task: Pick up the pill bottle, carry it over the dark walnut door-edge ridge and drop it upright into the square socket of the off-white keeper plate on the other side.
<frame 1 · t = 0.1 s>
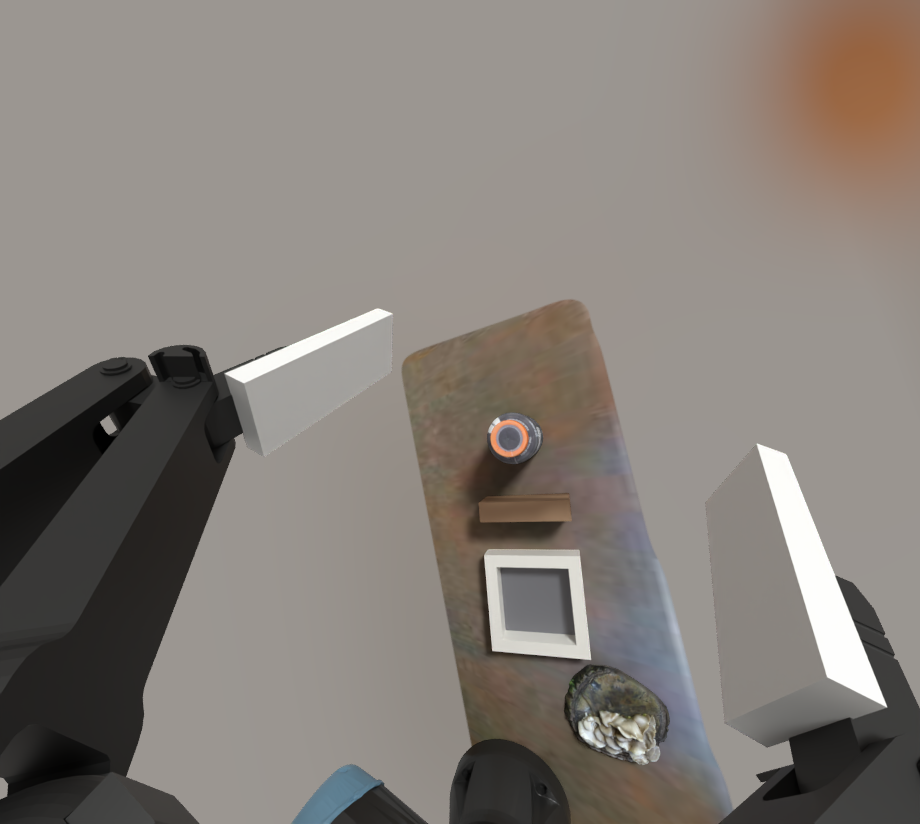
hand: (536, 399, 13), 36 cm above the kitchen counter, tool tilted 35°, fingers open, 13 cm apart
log: (612, 705, 44), on the kitchen counter
keeper plate: (536, 596, 47), on the kitchen counter
door edge: (527, 503, 48), on the kitchen counter
pill bottle: (521, 437, 49), on the kitchen counter
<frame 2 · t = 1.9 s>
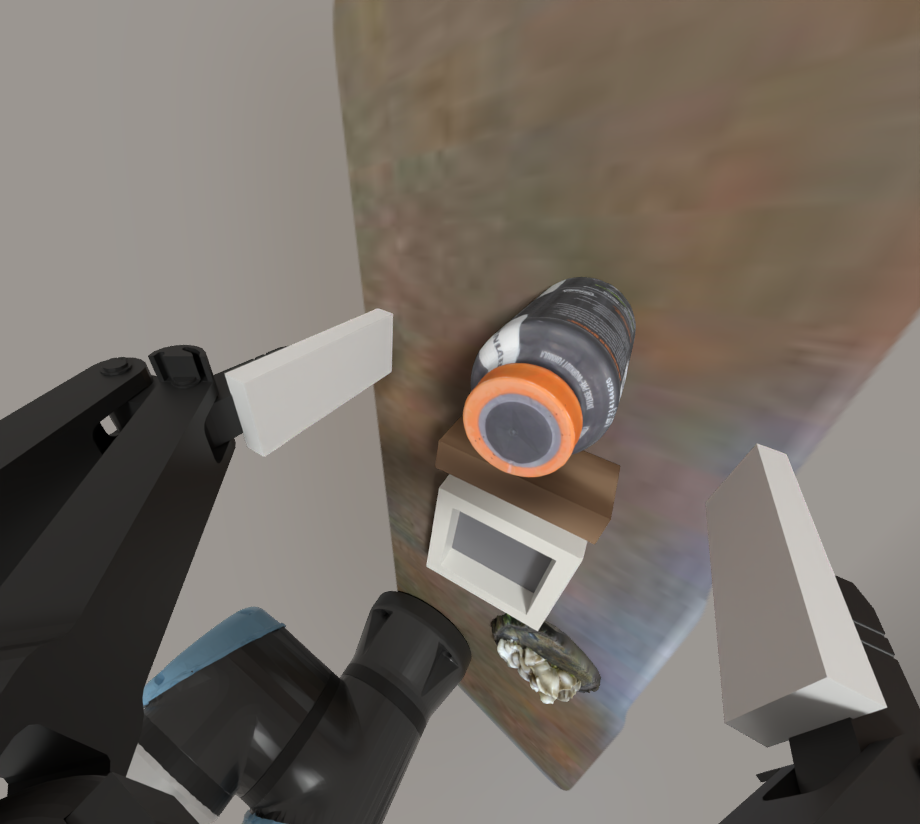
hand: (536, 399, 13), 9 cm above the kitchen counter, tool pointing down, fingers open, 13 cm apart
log: (544, 642, 39), on the kitchen counter
keeper plate: (501, 541, 33), on the kitchen counter
door edge: (536, 445, 26), on the kitchen counter
pill bottle: (579, 329, 20), on the kitchen counter
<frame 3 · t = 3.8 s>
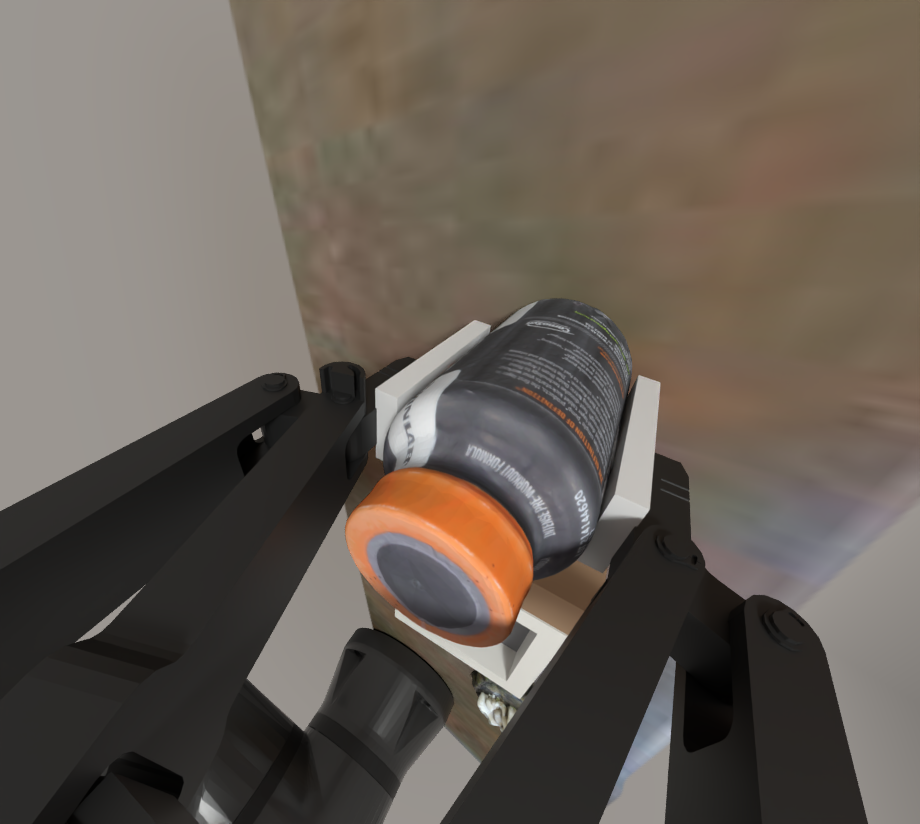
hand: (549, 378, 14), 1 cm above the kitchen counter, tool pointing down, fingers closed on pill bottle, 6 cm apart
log: (530, 699, 34), on the kitchen counter
keeper plate: (478, 595, 28), on the kitchen counter
door edge: (512, 498, 21), on the kitchen counter
pill bottle: (559, 363, 16), on the kitchen counter, touching gripper
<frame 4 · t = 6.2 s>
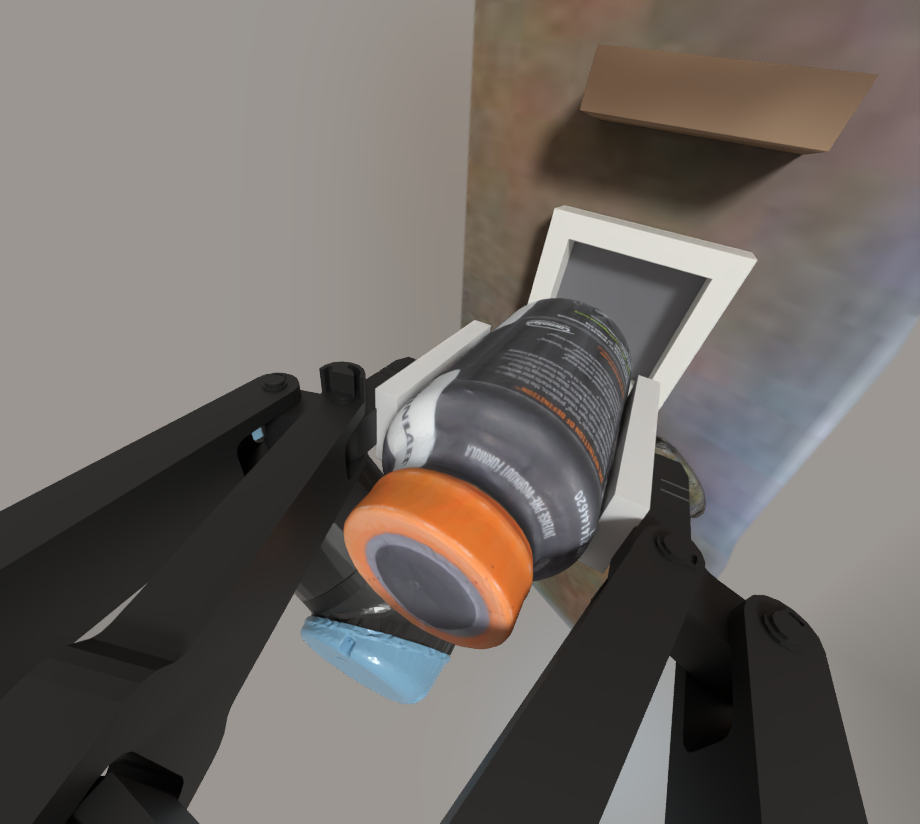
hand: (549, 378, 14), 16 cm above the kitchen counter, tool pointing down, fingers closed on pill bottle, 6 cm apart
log: (635, 472, 34), on the kitchen counter
keeper plate: (613, 312, 27), on the kitchen counter
door edge: (704, 108, 19), on the kitchen counter
pill bottle: (559, 363, 16), point 15 cm above the kitchen counter, touching gripper
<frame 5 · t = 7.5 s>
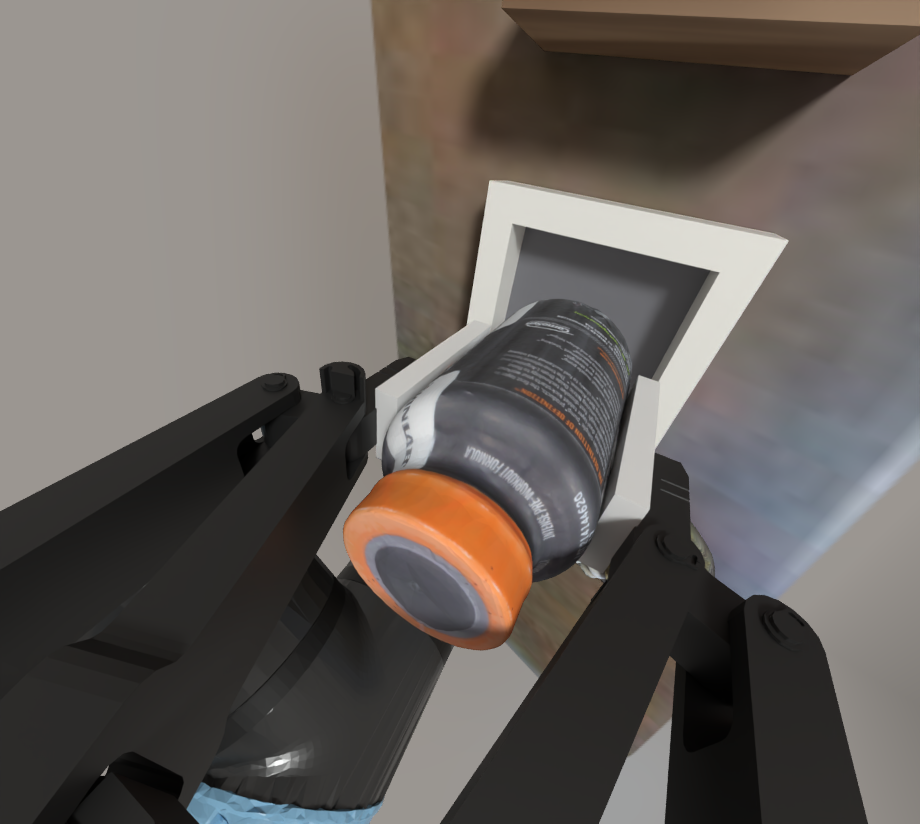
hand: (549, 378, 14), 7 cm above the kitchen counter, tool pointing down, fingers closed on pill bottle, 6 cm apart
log: (623, 527, 26), on the kitchen counter
keeper plate: (582, 325, 20), on the kitchen counter
door edge: (696, 16, 13), on the kitchen counter
pill bottle: (559, 364, 16), point 6 cm above the kitchen counter, touching gripper
when the fingers open (4 cm above the kitchen counter, at t = 8.6 s): pill bottle drops 2 cm, resting on keeper plate.
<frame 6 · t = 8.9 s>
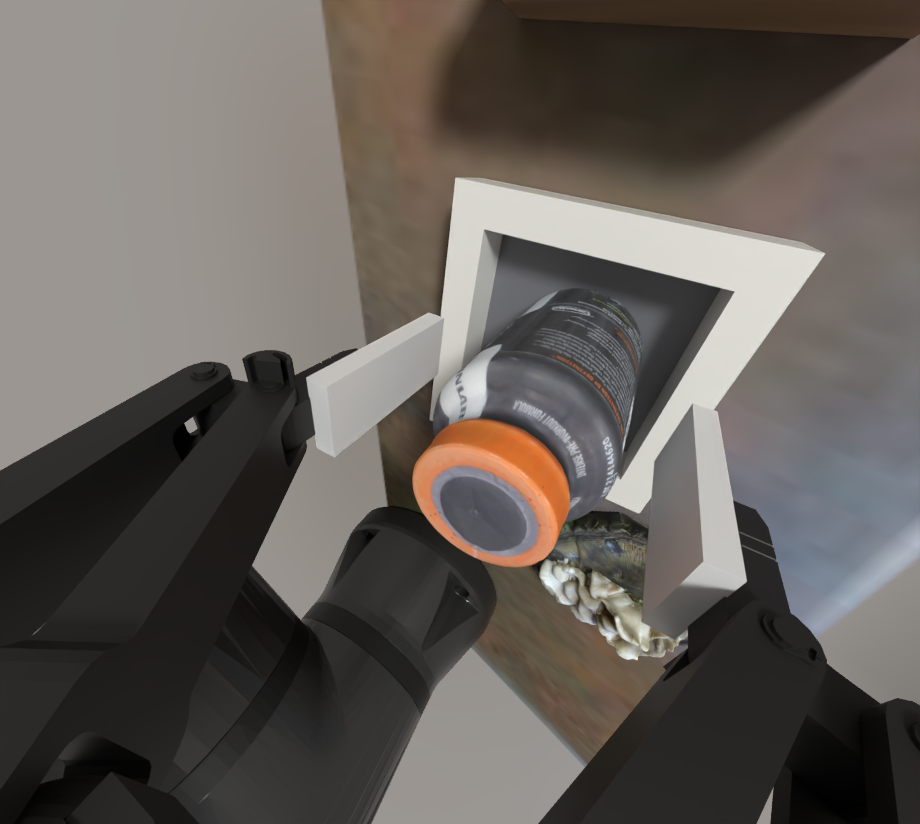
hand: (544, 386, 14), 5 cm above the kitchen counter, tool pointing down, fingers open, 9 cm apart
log: (618, 566, 24), on the kitchen counter
keeper plate: (571, 345, 17), on the kitchen counter
pill bottle: (575, 348, 17), resting on keeper plate
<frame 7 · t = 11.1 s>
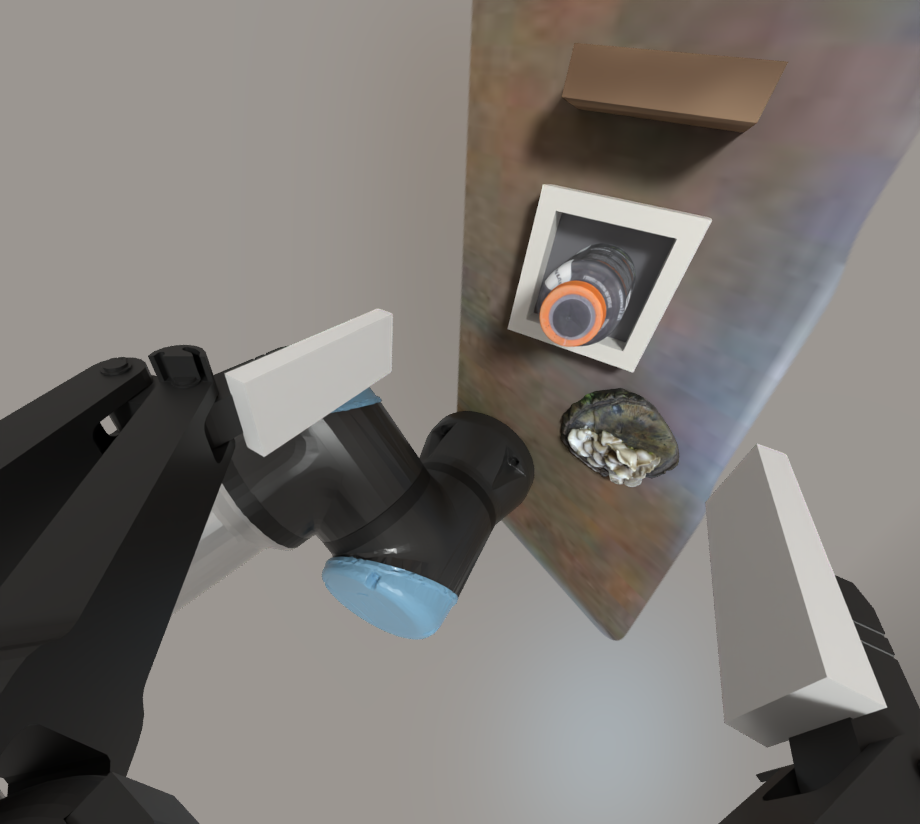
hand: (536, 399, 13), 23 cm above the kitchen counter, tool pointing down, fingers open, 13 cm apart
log: (618, 432, 38), on the kitchen counter
keeper plate: (596, 278, 31), on the kitchen counter
door edge: (664, 97, 24), on the kitchen counter
pill bottle: (598, 279, 31), resting on keeper plate
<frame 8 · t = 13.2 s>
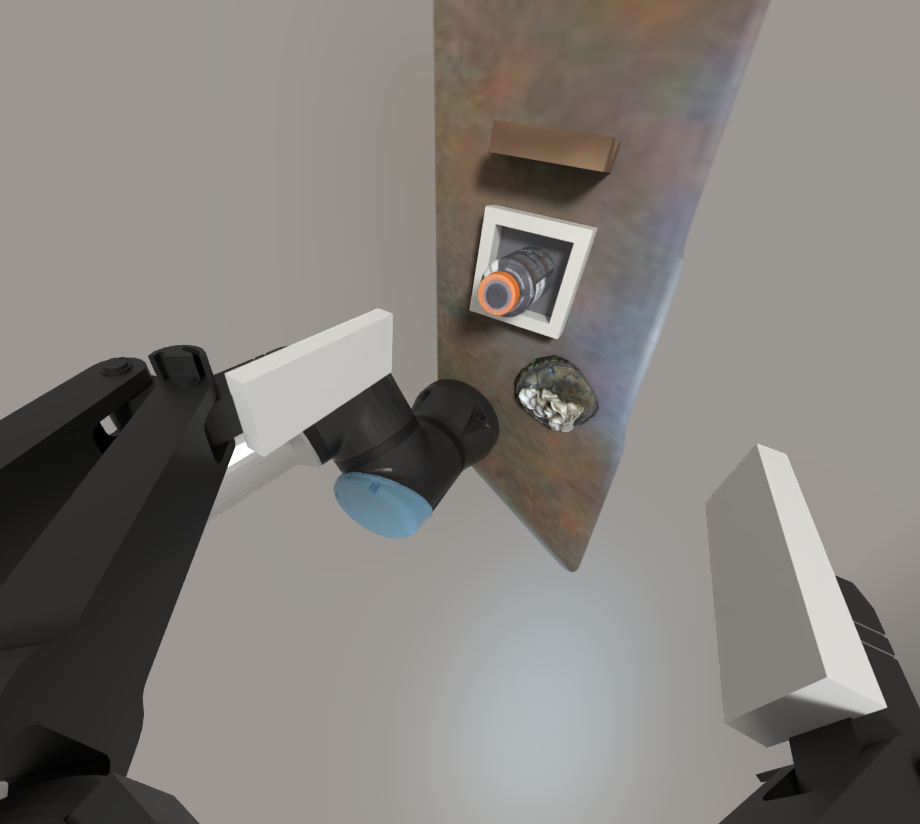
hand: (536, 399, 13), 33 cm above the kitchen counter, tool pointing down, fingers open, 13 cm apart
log: (556, 390, 50), on the kitchen counter
keeper plate: (529, 271, 43), on the kitchen counter
door edge: (560, 148, 35), on the kitchen counter
pill bottle: (531, 272, 43), resting on keeper plate
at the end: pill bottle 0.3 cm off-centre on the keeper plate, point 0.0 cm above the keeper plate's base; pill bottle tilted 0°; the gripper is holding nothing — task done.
